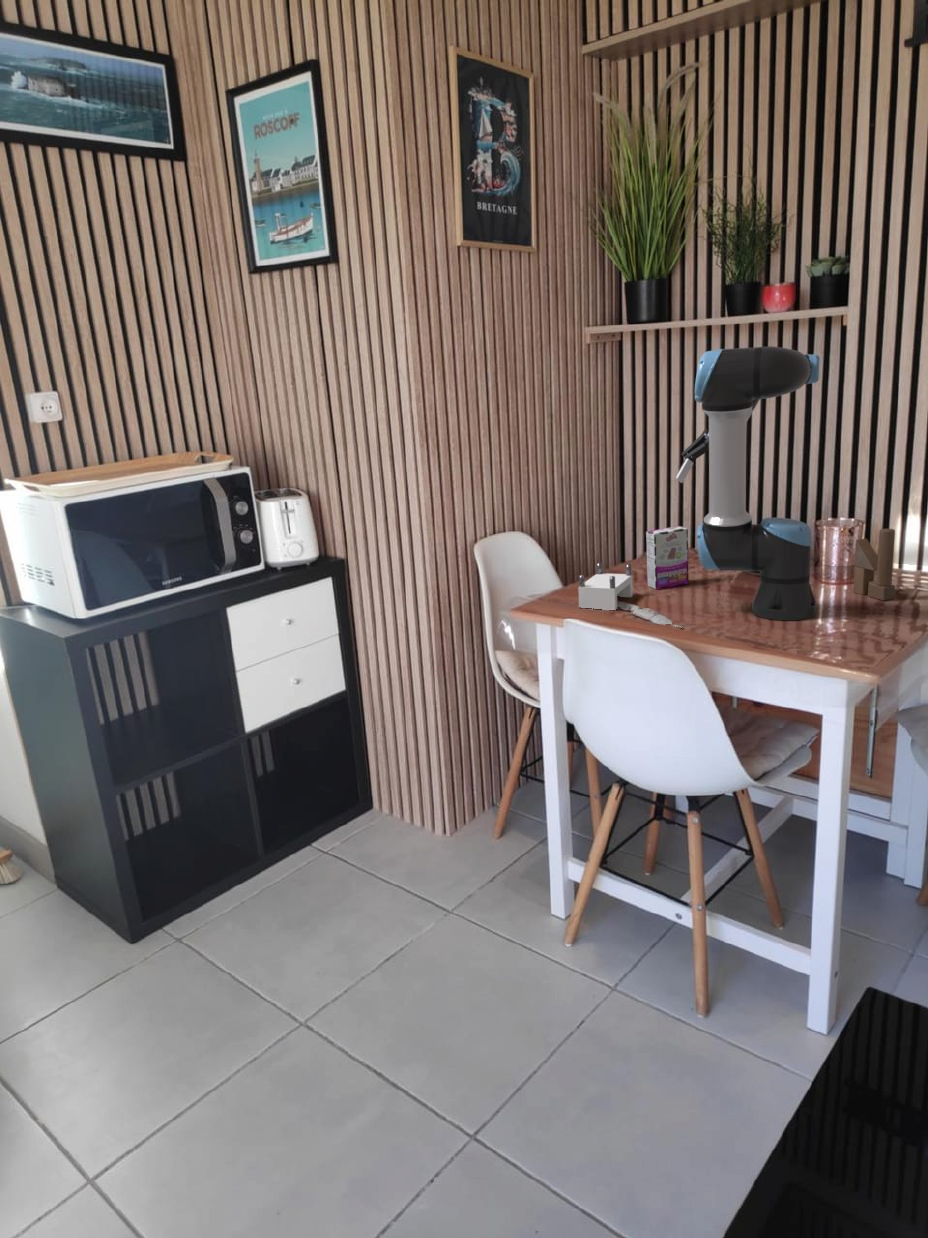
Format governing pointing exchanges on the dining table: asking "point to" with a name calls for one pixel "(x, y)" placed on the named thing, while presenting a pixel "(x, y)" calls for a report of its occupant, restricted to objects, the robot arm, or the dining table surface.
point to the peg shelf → (604, 589)
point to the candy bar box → (667, 557)
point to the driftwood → (645, 613)
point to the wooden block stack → (875, 567)
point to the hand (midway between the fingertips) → (696, 484)
